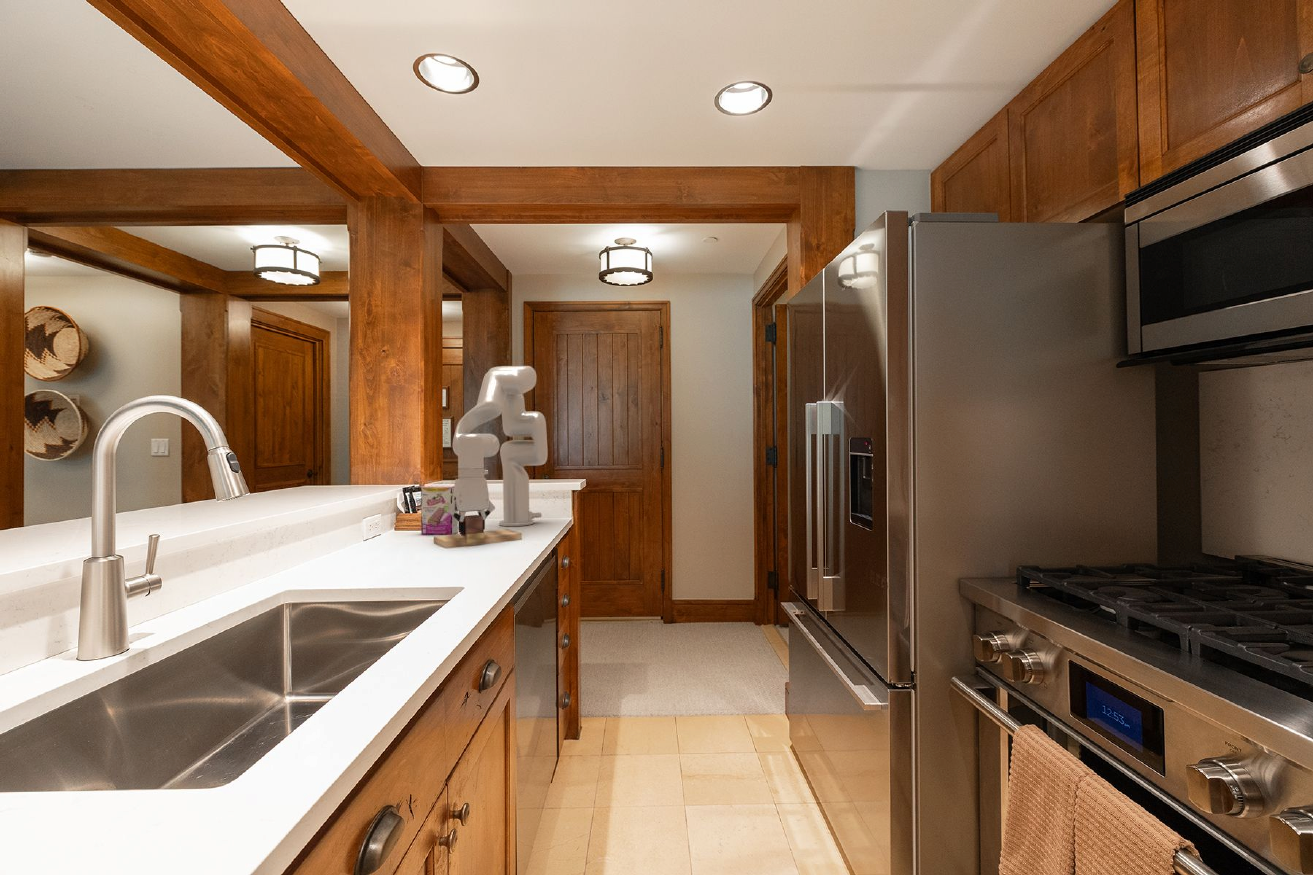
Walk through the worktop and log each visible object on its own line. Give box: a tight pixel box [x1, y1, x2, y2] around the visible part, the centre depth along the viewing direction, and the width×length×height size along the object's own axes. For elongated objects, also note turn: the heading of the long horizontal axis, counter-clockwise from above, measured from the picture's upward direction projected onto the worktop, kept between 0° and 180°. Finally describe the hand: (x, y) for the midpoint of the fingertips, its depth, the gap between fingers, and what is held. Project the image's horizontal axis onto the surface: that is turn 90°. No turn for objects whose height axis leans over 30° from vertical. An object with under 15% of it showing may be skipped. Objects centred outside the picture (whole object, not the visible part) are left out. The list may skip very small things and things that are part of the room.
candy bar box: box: [420, 485, 459, 536], centre depth 208 cm, size 11×5×16 cm, turn 84°
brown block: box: [461, 514, 484, 543], centre depth 187 cm, size 5×6×8 cm
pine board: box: [433, 528, 523, 549], centre depth 193 cm, size 24×12×2 cm, turn 126°
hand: (471, 532), depth 187 cm, fingers closed on brown block, 5 cm apart
